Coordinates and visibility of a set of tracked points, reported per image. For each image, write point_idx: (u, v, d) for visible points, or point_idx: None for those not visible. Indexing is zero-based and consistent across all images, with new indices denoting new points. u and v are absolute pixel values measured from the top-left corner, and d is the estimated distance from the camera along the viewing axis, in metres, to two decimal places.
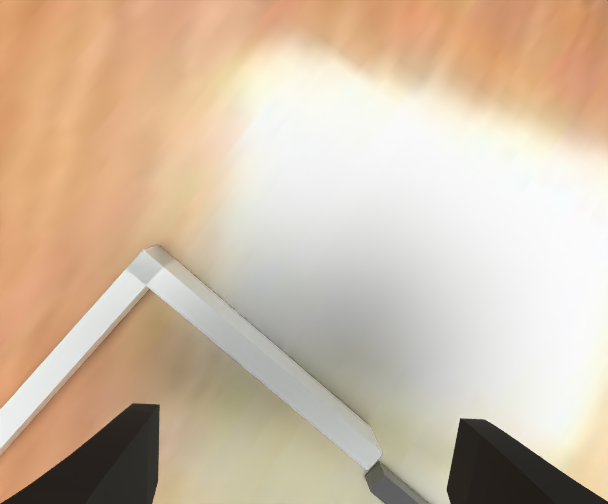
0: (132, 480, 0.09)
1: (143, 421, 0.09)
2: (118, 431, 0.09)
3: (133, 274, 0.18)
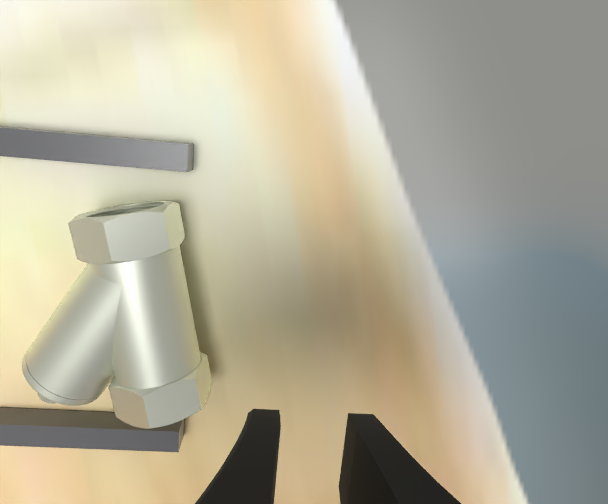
0: (274, 485, 0.09)
1: (277, 427, 0.10)
2: (260, 437, 0.09)
3: None
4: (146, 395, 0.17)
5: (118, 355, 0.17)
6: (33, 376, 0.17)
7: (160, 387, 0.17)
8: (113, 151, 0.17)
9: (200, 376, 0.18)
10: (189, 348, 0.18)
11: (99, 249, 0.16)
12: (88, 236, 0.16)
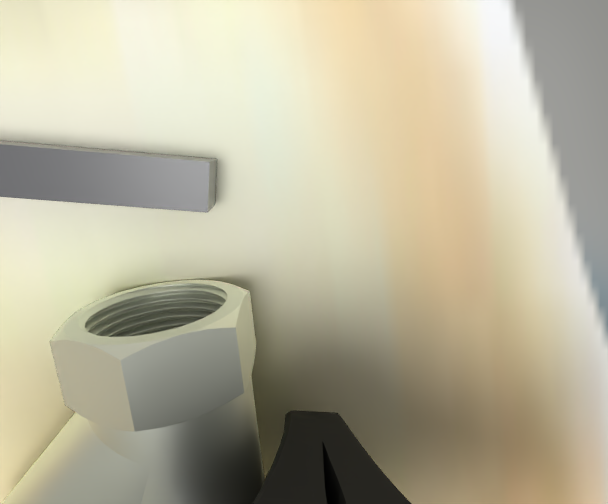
0: None
1: (318, 429, 0.10)
2: (303, 439, 0.09)
3: None
4: None
5: None
6: None
7: None
8: (70, 176, 0.09)
9: None
10: None
11: (110, 403, 0.08)
12: (88, 374, 0.08)
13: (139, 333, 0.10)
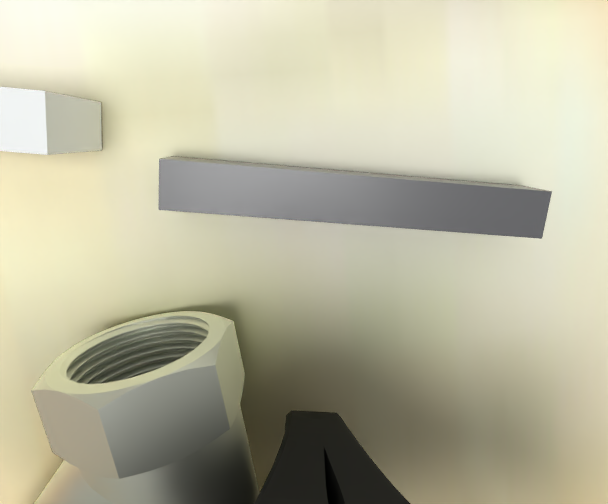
0: None
1: (319, 429, 0.10)
2: (304, 439, 0.09)
3: None
4: None
5: None
6: None
7: None
8: (424, 205, 0.10)
9: None
10: None
11: (93, 451, 0.08)
12: (70, 423, 0.08)
13: (127, 369, 0.10)
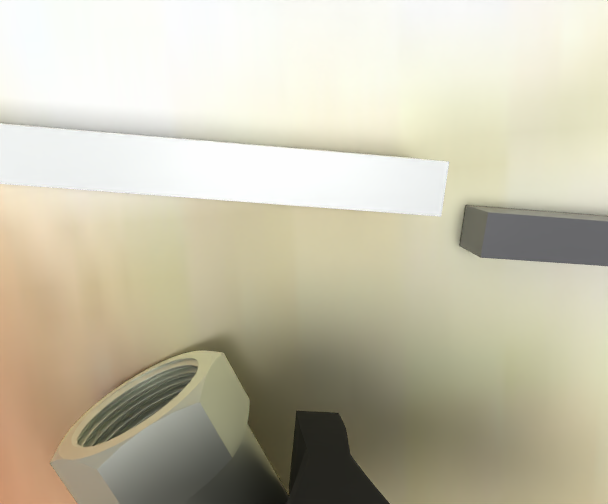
0: None
1: (343, 430, 0.10)
2: (329, 440, 0.09)
3: None
4: None
5: None
6: None
7: None
8: None
9: None
10: None
11: None
12: (85, 485, 0.09)
13: (144, 420, 0.11)
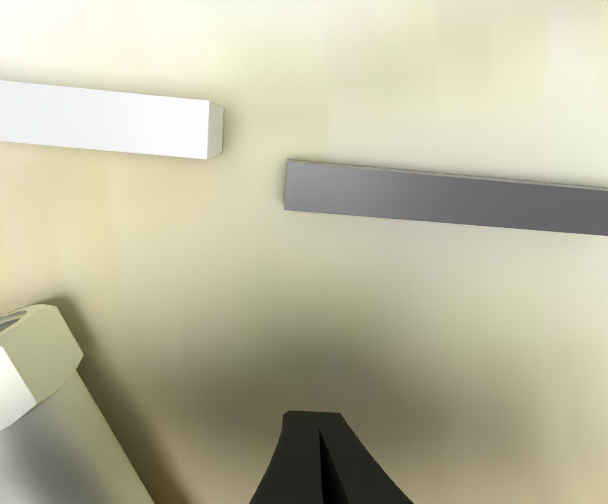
0: None
1: (316, 428, 0.10)
2: (301, 438, 0.09)
3: None
4: None
5: None
6: None
7: None
8: (528, 207, 0.10)
9: None
10: None
11: None
12: None
13: None
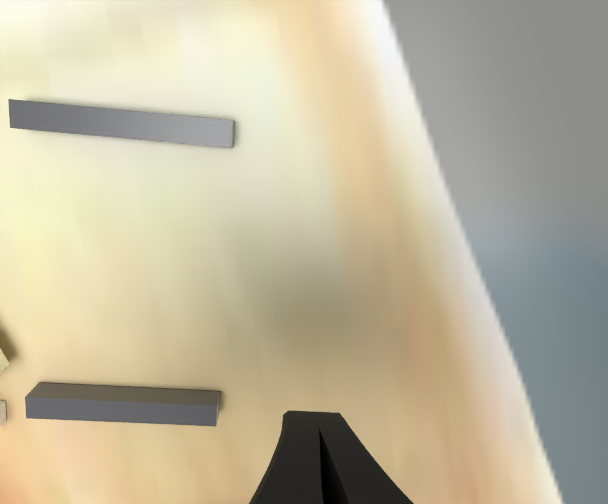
0: None
1: (316, 428, 0.10)
2: (301, 438, 0.09)
3: None
4: None
5: None
6: None
7: None
8: (159, 127, 0.17)
9: None
10: None
11: None
12: None
13: None
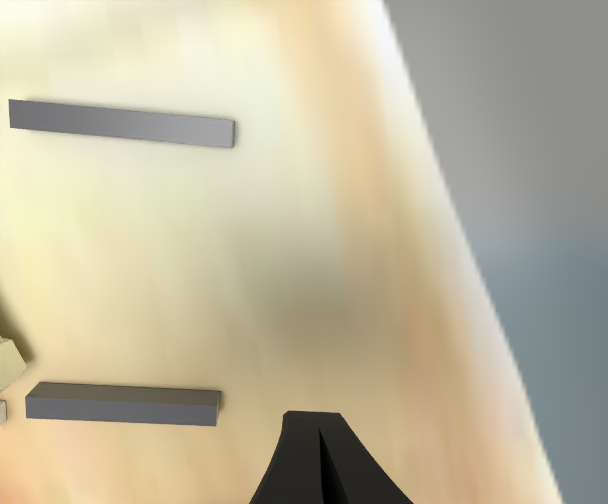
0: None
1: (316, 428, 0.10)
2: (301, 438, 0.09)
3: None
4: None
5: None
6: None
7: None
8: (159, 127, 0.17)
9: None
10: None
11: None
12: None
13: None
